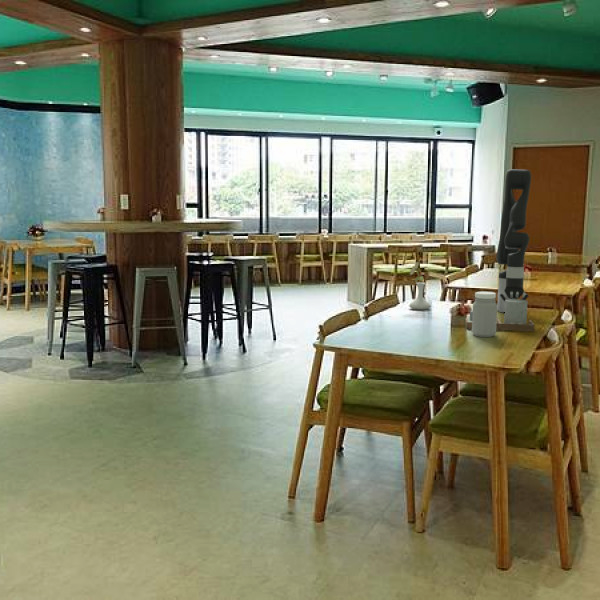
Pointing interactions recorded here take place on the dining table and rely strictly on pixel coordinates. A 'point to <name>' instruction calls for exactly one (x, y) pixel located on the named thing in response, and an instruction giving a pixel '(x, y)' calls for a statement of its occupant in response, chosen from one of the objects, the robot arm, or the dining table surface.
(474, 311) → the jar
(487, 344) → the dining table surface
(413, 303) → the flower in vase
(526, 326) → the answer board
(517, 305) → the speckled white canister
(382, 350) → the dining table surface
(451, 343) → the dining table surface
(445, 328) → the dining table surface
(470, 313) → the block slate
